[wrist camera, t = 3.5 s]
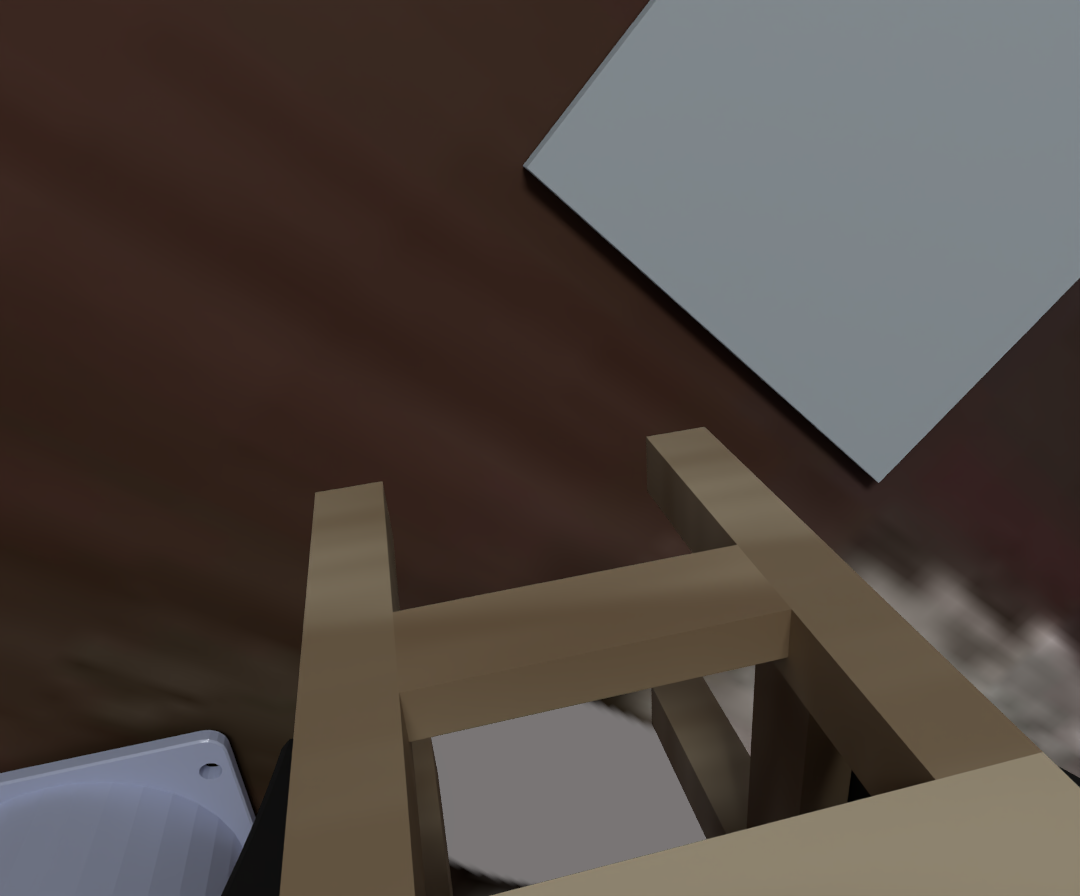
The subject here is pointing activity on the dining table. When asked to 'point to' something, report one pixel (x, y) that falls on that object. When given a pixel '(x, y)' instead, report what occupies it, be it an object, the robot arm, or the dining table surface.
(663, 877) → the pine stool
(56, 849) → the robot arm
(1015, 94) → the rubber mat
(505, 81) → the dining table surface
